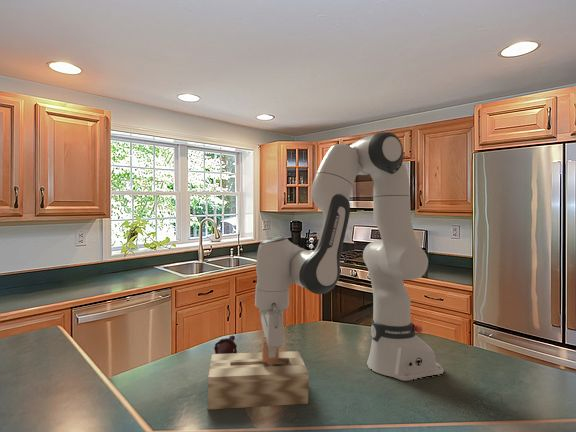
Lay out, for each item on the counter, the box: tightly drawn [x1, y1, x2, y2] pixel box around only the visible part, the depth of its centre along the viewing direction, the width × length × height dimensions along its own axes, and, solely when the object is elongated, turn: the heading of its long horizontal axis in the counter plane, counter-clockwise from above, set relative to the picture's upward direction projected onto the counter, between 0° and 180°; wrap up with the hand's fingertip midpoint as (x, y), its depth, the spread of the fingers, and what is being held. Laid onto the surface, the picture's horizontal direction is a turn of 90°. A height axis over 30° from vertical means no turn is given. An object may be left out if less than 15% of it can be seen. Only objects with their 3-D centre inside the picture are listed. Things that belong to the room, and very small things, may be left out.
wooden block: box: [261, 336, 280, 364], centre depth 90 cm, size 4×4×9 cm
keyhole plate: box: [206, 350, 310, 410], centre depth 89 cm, size 24×14×8 cm, turn 99°
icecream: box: [213, 335, 238, 354], centre depth 109 cm, size 7×7×15 cm
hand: (270, 352), depth 90 cm, fingers closed on wooden block, 4 cm apart
